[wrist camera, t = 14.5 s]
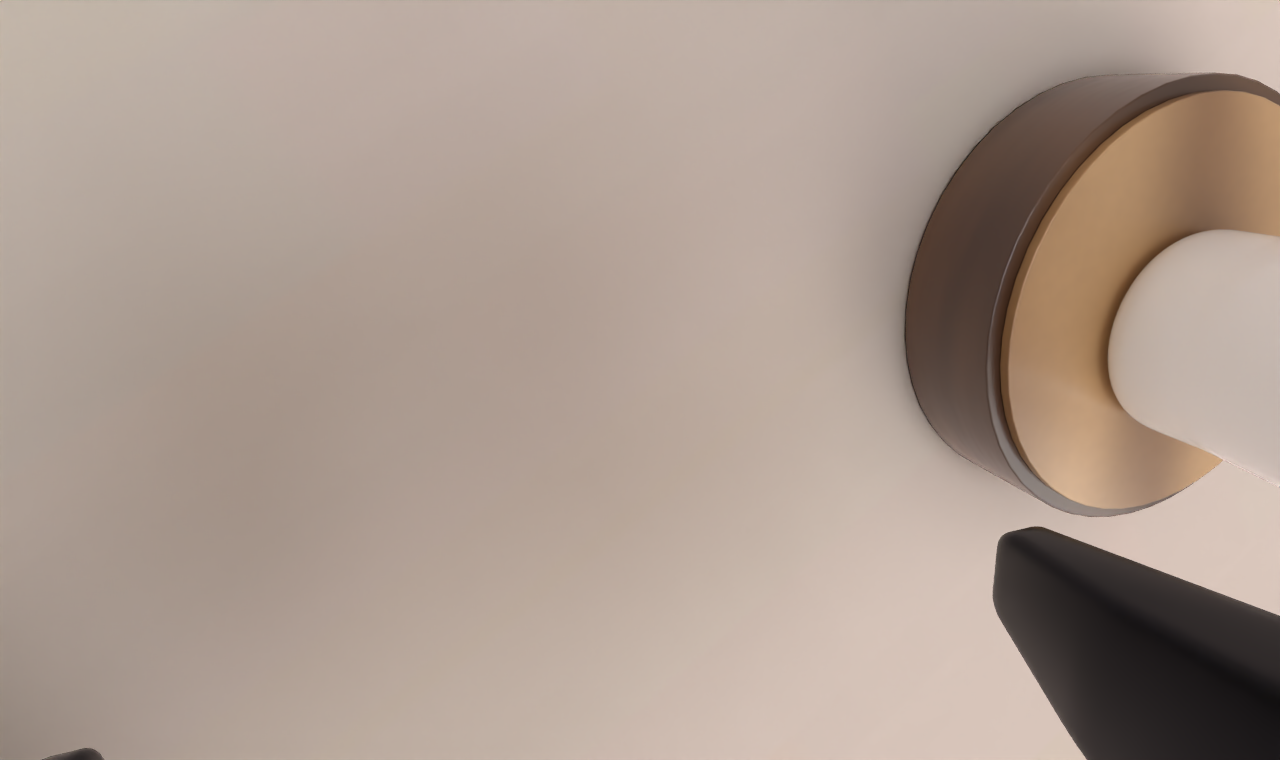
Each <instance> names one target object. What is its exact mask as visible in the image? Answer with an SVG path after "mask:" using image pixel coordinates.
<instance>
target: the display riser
mask: <svg viewBox="0 0 1280 760" xmlns="http://www.w3.org/2000/svg"><path fill="white" fill-rule="evenodd" d="M1216 229H1231V230H1240V231H1248V232H1255V233H1261V234H1268V235H1275V236H1280V94H1279V93H1278V92H1277V91H1275V90H1273V89H1272V88H1270V87H1268V86H1266V85H1264V84H1262V83H1261V82H1259V81H1257V80H1253V79H1250V78H1247V77H1243V76H1240V75H1236V74H1223V73H1176V74H1124V75H1101V76H1092V77H1084V78H1081V79H1077V80H1074V81H1070V82H1067V83H1063V84H1061V85H1059V86H1056V87H1054V88H1052V89H1050V90H1048V91H1046V92H1043V93H1041V94H1039V95H1038V96H1036V97H1034V98H1033V99H1031V100H1030V101H1028V102H1027V103H1025V104H1023V105H1022V106H1020V107H1019V108H1017V109H1016V110H1015V111H1013V112H1012V113H1011V114H1010V115H1009V116H1007V117H1006V118H1005V119H1004V120H1003V121H1001V122H1000V123H999V124H998V125H996V126H995V127H994V128H993V129H992V130H991V131H990V132H989V134H988V135H987V136H986V137H985V138H984V139H983V140H982V141H981V142H980V143H979V144H978V145H977V146H976V147H975V148H974V150H973V151H972V152H971V154H970V155H969V156H968V157H967V159H966V160H965V161H964V163H963V164H962V165H961V167H960V168H959V169H958V170H957V172H956V174H955V175H954V177H953V178H952V180H951V182H950V183H949V185H948V187H947V188H946V190H945V191H944V193H943V195H942V196H941V198H940V200H939V202H938V204H937V207H936V209H935V211H934V213H933V215H932V217H931V219H930V221H929V223H928V225H927V228H926V231H925V234H924V236H923V239H922V242H921V245H920V247H919V250H918V253H917V257H916V261H915V265H914V269H913V273H912V277H911V281H910V287H909V294H908V301H907V308H906V347H907V359H908V365H909V369H910V374H911V379H912V383H913V387H914V389H915V392H916V395H917V398H918V400H919V403H920V406H921V408H922V409H923V411H924V413H925V415H926V417H927V418H928V420H929V422H930V424H931V426H932V427H933V428H934V429H935V431H936V432H937V433H938V434H939V436H940V437H941V438H942V439H943V441H944V442H945V443H947V444H948V445H949V446H950V447H951V448H952V449H953V450H954V451H956V452H957V453H958V454H959V455H961V456H963V457H964V458H966V459H968V460H969V461H971V462H973V463H974V464H976V465H978V466H980V467H982V468H983V469H985V470H987V471H989V472H990V473H992V474H994V475H996V476H998V477H999V478H1001V479H1003V480H1005V481H1007V482H1008V483H1010V484H1012V485H1014V486H1016V487H1017V488H1019V489H1021V490H1023V491H1024V492H1026V493H1028V494H1030V495H1032V496H1033V497H1035V498H1037V499H1039V500H1041V501H1042V502H1044V503H1046V504H1048V505H1050V506H1051V507H1054V508H1056V509H1059V510H1062V511H1064V512H1067V513H1070V514H1076V515H1082V516H1088V517H1110V516H1116V515H1122V514H1128V513H1132V512H1135V511H1138V510H1142V509H1145V508H1148V507H1151V506H1153V505H1155V504H1157V503H1159V502H1162V501H1164V500H1166V499H1168V498H1170V497H1172V496H1174V495H1175V494H1177V493H1179V492H1180V491H1182V490H1184V489H1185V488H1187V487H1189V486H1190V485H1192V484H1193V483H1194V482H1196V481H1197V480H1199V479H1200V478H1201V477H1203V476H1204V475H1205V474H1207V473H1208V472H1209V471H1211V470H1212V469H1213V468H1215V467H1216V466H1217V465H1218V464H1219V463H1221V462H1222V461H1223V460H1222V459H1220V458H1218V457H1216V456H1214V455H1212V454H1210V453H1208V452H1206V451H1204V450H1201V449H1199V448H1196V447H1194V446H1191V445H1189V444H1186V443H1184V442H1181V441H1179V440H1176V439H1174V438H1171V437H1169V436H1166V435H1164V434H1162V433H1159V432H1157V431H1154V430H1152V429H1150V428H1148V427H1146V426H1144V425H1142V424H1141V423H1139V422H1137V421H1136V420H1135V419H1133V418H1132V417H1131V416H1130V415H1129V414H1128V413H1127V412H1126V411H1125V410H1124V409H1123V407H1122V406H1121V405H1120V403H1119V402H1118V400H1117V398H1116V396H1115V394H1114V392H1113V389H1112V386H1111V383H1110V379H1109V373H1108V360H1107V358H1108V345H1109V338H1110V333H1111V329H1112V325H1113V322H1114V319H1115V316H1116V313H1117V311H1118V309H1119V306H1120V304H1121V302H1122V300H1123V298H1124V296H1125V294H1126V292H1127V291H1128V289H1129V287H1130V286H1131V284H1132V283H1133V281H1134V280H1135V279H1136V277H1137V276H1138V275H1139V273H1140V272H1141V271H1142V270H1143V269H1144V267H1145V266H1146V265H1147V264H1148V263H1149V262H1150V261H1151V260H1152V259H1153V258H1154V257H1155V256H1156V255H1158V254H1159V253H1160V252H1161V251H1163V250H1164V249H1166V248H1167V247H1168V246H1170V245H1171V244H1173V243H1175V242H1177V241H1178V240H1180V239H1182V238H1185V237H1187V236H1189V235H1192V234H1195V233H1198V232H1202V231H1208V230H1216Z"/></svg>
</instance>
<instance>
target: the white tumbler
mask: <svg viewBox="0 0 1280 760" xmlns="http://www.w3.org/2000/svg"><path fill="white" fill-rule="evenodd" d="M1107 360H1108V373H1109V379H1110V383H1111V386H1112V389H1113V392H1114V394H1115V396H1116V398H1117V400H1118V402H1119V403H1120V405H1121V406H1122V407H1123V409H1124V410H1125V411H1126V412H1127V413H1128V414H1129V415H1130V416H1131V417H1132V418H1133V419H1135V420H1136V421H1137V422H1139V423H1141V424H1142V425H1144V426H1146V427H1148V428H1150V429H1152V430H1154V431H1157V432H1159V433H1162V434H1164V435H1166V436H1169V437H1171V438H1174V439H1176V440H1179V441H1181V442H1184V443H1186V444H1189V445H1191V446H1194V447H1196V448H1199V449H1201V450H1204V451H1206V452H1208V453H1210V454H1212V455H1214V456H1216V457H1218V458H1220V459H1222V460H1224V461H1226V462H1228V463H1230V464H1232V465H1234V466H1237V467H1239V468H1241V469H1243V470H1245V471H1247V472H1249V473H1251V474H1253V475H1255V476H1257V477H1259V478H1261V479H1263V480H1265V481H1267V482H1269V483H1271V484H1273V485H1275V486H1277V487H1279V488H1280V236H1275V235H1268V234H1261V233H1255V232H1248V231H1240V230H1231V229H1216V230H1208V231H1202V232H1198V233H1195V234H1192V235H1189V236H1187V237H1185V238H1182V239H1180V240H1178V241H1177V242H1175V243H1173V244H1171V245H1170V246H1168V247H1167V248H1166V249H1164V250H1163V251H1161V252H1160V253H1159V254H1158V255H1156V256H1155V257H1154V258H1153V259H1152V260H1151V261H1150V262H1149V263H1148V264H1147V265H1146V266H1145V267H1144V269H1143V270H1142V271H1141V272H1140V273H1139V275H1138V276H1137V277H1136V279H1135V280H1134V281H1133V283H1132V284H1131V286H1130V287H1129V289H1128V291H1127V292H1126V294H1125V296H1124V298H1123V300H1122V302H1121V304H1120V306H1119V309H1118V311H1117V313H1116V316H1115V319H1114V322H1113V325H1112V329H1111V333H1110V338H1109V345H1108V358H1107Z"/></svg>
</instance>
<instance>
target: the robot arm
mask: <svg viewBox="0 0 1280 760" xmlns="http://www.w3.org/2000/svg"><path fill="white" fill-rule="evenodd" d="M993 601H994V606H995V609H996V612H997V614H998V616H999V618H1000V620H1001V622H1002V623H1003V625H1004V627H1005V628H1006V630H1007V632H1008V633H1009V635H1010V637H1011V638H1012V640H1013V642H1014V643H1015V645H1016V647H1017V648H1018V650H1019V652H1020V653H1021V655H1022V657H1023V658H1024V660H1025V662H1026V663H1027V665H1028V667H1029V668H1030V670H1031V672H1032V673H1033V675H1034V677H1035V678H1036V680H1037V682H1038V683H1039V685H1040V687H1041V688H1042V690H1043V692H1044V693H1045V695H1046V697H1047V698H1048V700H1049V702H1050V703H1051V705H1052V707H1053V708H1054V710H1055V712H1056V713H1057V715H1058V717H1059V718H1060V720H1061V722H1062V723H1063V725H1064V726H1065V728H1066V729H1067V731H1068V733H1069V734H1070V736H1071V737H1072V739H1073V740H1074V742H1075V743H1076V745H1077V746H1078V748H1079V749H1080V750H1081V752H1082V753H1083V755H1084V756H1085V758H1086V759H1087V760H1280V616H1279V615H1276V614H1273V613H1271V612H1268V611H1265V610H1263V609H1260V608H1257V607H1255V606H1252V605H1249V604H1247V603H1244V602H1241V601H1239V600H1236V599H1233V598H1231V597H1228V596H1225V595H1223V594H1220V593H1217V592H1215V591H1212V590H1209V589H1206V588H1204V587H1201V586H1198V585H1196V584H1193V583H1190V582H1188V581H1185V580H1182V579H1180V578H1177V577H1174V576H1172V575H1169V574H1166V573H1164V572H1161V571H1158V570H1156V569H1153V568H1150V567H1148V566H1145V565H1142V564H1140V563H1137V562H1134V561H1132V560H1129V559H1126V558H1124V557H1121V556H1118V555H1116V554H1113V553H1110V552H1108V551H1105V550H1102V549H1100V548H1097V547H1094V546H1092V545H1089V544H1086V543H1084V542H1081V541H1078V540H1076V539H1073V538H1070V537H1068V536H1065V535H1062V534H1060V533H1057V532H1054V531H1052V530H1049V529H1046V528H1043V527H1029V528H1025V529H1021V530H1016V531H1012V532H1008V533H1006V534H1004V535H1002V537H1001V538H1000V540H999V542H998V546H997V554H996V564H995V575H994V585H993ZM42 760H104V758H103V757H102V756H101V754H100V753H99V752H97V751H96V750H94V749H90V748H84V749H79V750H75V751H71V752H66V753H62V754H58V755H54V756H50V757H47V758H45V759H42Z"/></svg>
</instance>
